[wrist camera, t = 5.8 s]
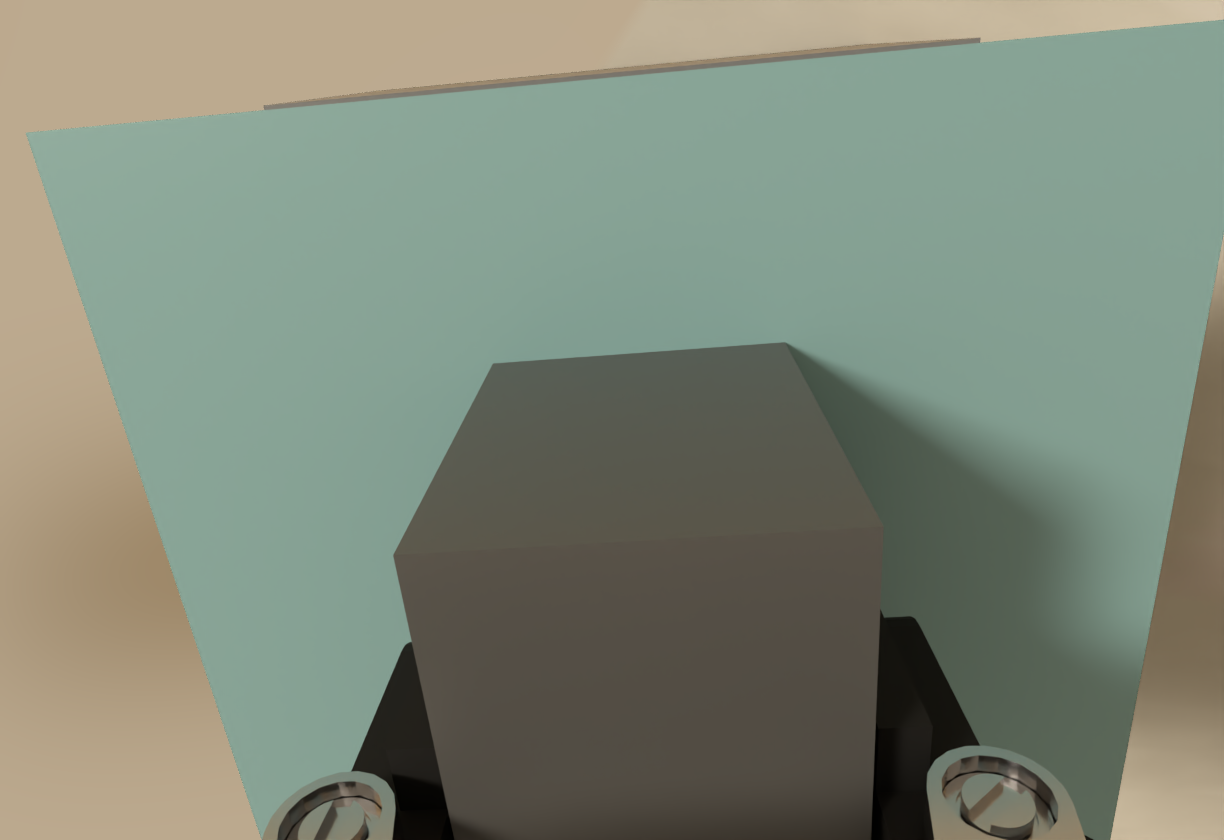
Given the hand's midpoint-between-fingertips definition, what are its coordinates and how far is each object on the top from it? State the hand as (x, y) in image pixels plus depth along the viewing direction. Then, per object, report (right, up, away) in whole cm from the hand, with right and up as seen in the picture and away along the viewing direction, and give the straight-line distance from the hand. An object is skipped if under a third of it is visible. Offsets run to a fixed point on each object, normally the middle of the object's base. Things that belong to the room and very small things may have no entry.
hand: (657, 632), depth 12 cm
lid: (0, +1, +2) cm, 2 cm away
